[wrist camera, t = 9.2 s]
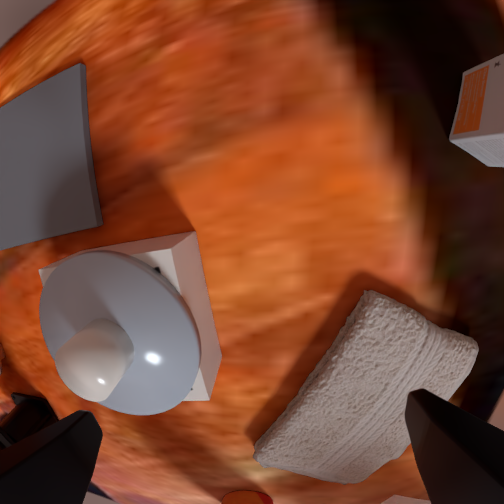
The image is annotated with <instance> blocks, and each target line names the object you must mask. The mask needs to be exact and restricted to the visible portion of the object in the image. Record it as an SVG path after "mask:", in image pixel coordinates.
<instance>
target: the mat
mask: <svg viewBox="0 0 504 504" xmlns="http://www.w3.org/2000/svg"><path fill="white" fill-rule="evenodd" d="M101 225H103V220H102V215H101V210H100V204H99V198H98V192H97V186H96V180H95V173H94V166H93V158H92V150H91V141H90V131H89V120H88V107H87V89H86V66H85V65H83V64H81V63H79V64H77V65H75V66H72V67H70V68H68V69H66V70H64V71H62V72H60V73H58V74H56V75H55V76H53V77H51V78H49V79H47V80H45V81H43V82H42V83H40V84H38V85H36V86H35V87H33V88H31V89H29V90H28V91H26V92H24V93H23V94H21V95H19V96H18V97H16V98H15V99H13V100H12V101H10V102H8V103H7V104H5V105H4V106H2V107H1V108H0V250H3V249H7V248H11V247H15V246H18V245H22V244H26V243H30V242H34V241H38V240H42V239H46V238H50V237H54V236H58V235H62V234H67V233H71V232H75V231H80V230H84V229H88V228H93V227H98V226H101Z"/></svg>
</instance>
